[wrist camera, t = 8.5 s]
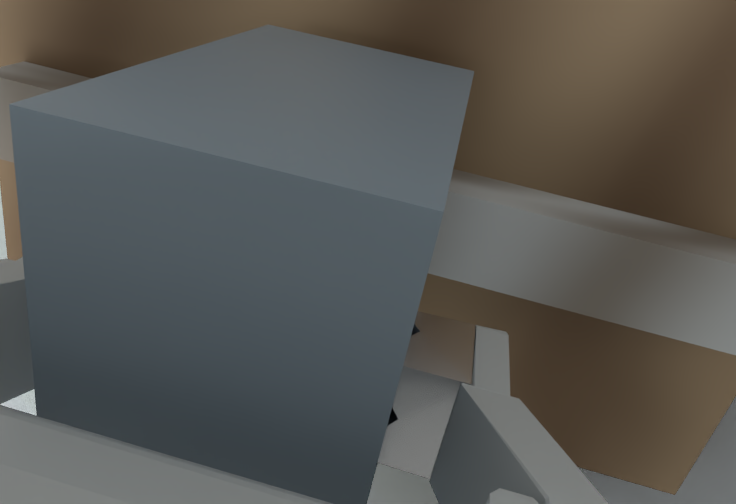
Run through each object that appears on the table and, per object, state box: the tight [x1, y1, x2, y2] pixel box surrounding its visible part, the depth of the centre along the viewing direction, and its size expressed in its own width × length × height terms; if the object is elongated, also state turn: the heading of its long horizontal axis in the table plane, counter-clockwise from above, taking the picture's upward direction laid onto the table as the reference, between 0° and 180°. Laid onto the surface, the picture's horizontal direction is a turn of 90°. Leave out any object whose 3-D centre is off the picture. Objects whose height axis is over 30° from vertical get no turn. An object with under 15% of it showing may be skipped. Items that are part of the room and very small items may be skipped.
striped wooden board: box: [0, 0, 736, 495], centre depth 15 cm, size 20×13×2 cm, turn 79°
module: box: [9, 25, 474, 504], centre depth 10 cm, size 4×8×7 cm, turn 169°
